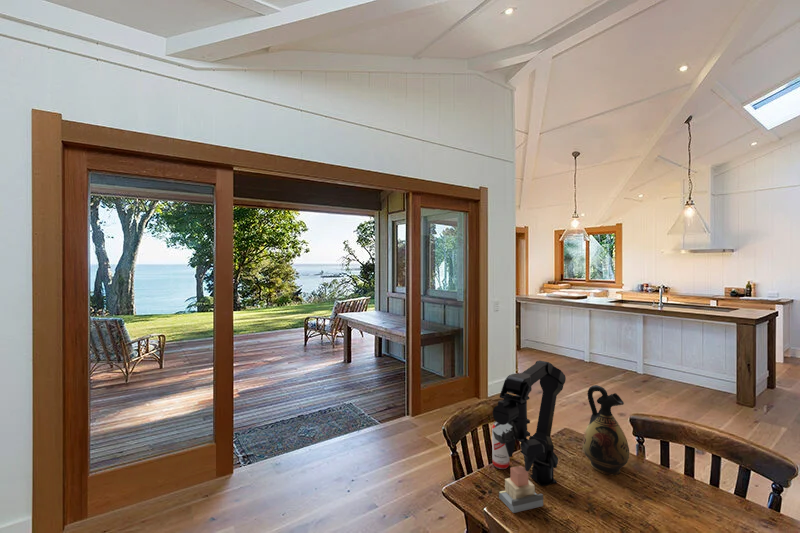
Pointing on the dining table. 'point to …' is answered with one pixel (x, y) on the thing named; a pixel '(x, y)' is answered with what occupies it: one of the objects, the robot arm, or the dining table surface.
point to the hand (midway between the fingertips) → (518, 463)
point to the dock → (521, 502)
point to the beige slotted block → (519, 489)
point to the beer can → (499, 453)
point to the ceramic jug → (605, 435)
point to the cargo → (519, 476)
